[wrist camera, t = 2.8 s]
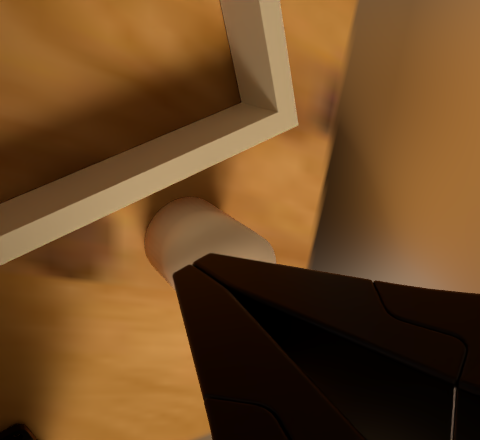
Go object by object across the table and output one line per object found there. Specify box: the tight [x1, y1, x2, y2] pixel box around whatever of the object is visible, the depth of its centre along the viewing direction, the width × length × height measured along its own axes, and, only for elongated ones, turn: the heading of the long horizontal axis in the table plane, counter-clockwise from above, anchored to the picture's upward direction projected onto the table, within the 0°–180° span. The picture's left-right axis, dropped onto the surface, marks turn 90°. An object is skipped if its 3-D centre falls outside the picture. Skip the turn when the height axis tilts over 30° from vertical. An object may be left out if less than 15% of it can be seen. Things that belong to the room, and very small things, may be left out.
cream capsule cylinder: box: [145, 197, 276, 291], centre depth 21 cm, size 4×4×5 cm
